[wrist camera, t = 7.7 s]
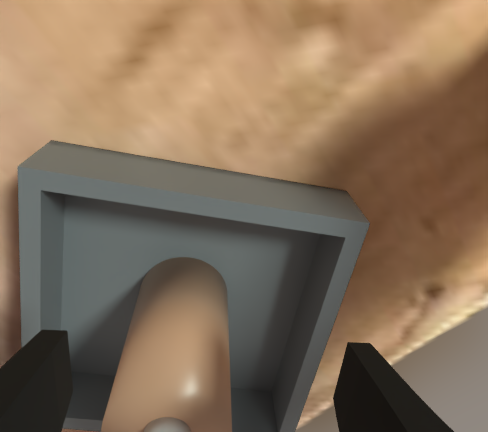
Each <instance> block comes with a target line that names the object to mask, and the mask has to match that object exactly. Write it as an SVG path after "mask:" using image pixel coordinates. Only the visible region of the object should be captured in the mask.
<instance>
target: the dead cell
mask: <svg viewBox="0 0 488 432" xmlns="http://www.w3.org/2000/svg"><path fill="white" fill-rule="evenodd" d="M101 432H232V415H231V386H230V357H229V328H228V298H227V286H226V283H225V281H224V279H223V277H222V276H221V274H220V273H219V272H218V271H217V270H216V269H215V268H214V267H213V266H211V265H210V264H208V263H206V262H204V261H202V260H199V259H195V258H190V257H177V258H171V259H167V260H165V261H162V262H160V263H158V264H157V265H155V266H154V267H153V268H151V269H150V270H149V271H148V273H147V274H146V275H145V277H144V279H143V281H142V284H141V287H140V291H139V294H138V298H137V302H136V305H135V309H134V312H133V316H132V319H131V323H130V326H129V330H128V333H127V337H126V341H125V344H124V348H123V351H122V355H121V358H120V362H119V365H118V369H117V372H116V376H115V379H114V383H113V387H112V390H111V394H110V397H109V401H108V404H107V408H106V411H105V415H104V418H103V422H102V427H101Z"/></svg>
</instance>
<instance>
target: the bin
mask: <svg viewBox="0 0 488 432" xmlns="http://www.w3.org/2000/svg"><path fill="white" fill-rule="evenodd" d="M18 206H19V253H20V299H21V346H22V347H23V346H24V345H26V344H27V343H28V342H29V341H30V340H31V339H32V338H33V337H34V336H35V335H36V334H37V333H39V332H40V331H41V330H66V331H67V332H68V342H69V353H70V363H71V373H72V383H73V393H72V396H71V400H70V404H69V407H68V411H67V414H66V417H65V421H64V424H63V427H62V428H63V429H75V430H87V431H99V432H101V427H102V422H103V418H104V415H105V411H106V408H107V404H108V401H109V397H110V394H111V390H112V387H113V383H114V379H115V376H116V372H117V369H118V365H119V362H120V358H121V355H122V351H123V348H124V344H125V341H126V337H127V333H128V330H129V326H130V323H131V319H132V316H133V312H134V309H135V305H136V302H137V298H138V294H139V291H140V287H141V284H142V281H143V279H144V277H145V275H146V274H147V273H148V271H149V270H150V269H151V268H153V267H154V266H155V265H157V264H158V263H160V262H162V261H165V260H167V259H171V258H177V257H190V258H195V259H199V260H202V261H204V262H206V263H208V264H210V265H211V266H213V267H214V268H215V269H216V270H217V271H218V272H219V273H220V274H221V276H222V277H223V279H224V281H225V283H226V286H227V298H228V328H229V357H230V386H231V415H232V432H295V430H296V427H297V424H298V422H299V419H300V416H301V413H302V411H303V408H304V405H305V402H306V400H307V397H308V394H309V391H310V388H311V386H312V383H313V380H314V377H315V375H316V372H317V369H318V366H319V364H320V361H321V358H322V355H323V352H324V350H325V347H326V344H327V341H328V339H329V336H330V333H331V330H332V328H333V325H334V322H335V319H336V316H337V314H338V311H339V308H340V305H341V303H342V300H343V297H344V294H345V292H346V289H347V286H348V283H349V280H350V278H351V275H352V272H353V269H354V267H355V264H356V261H357V258H358V256H359V253H360V250H361V247H362V244H363V242H364V239H365V236H366V233H367V231H368V228H369V225H370V223H369V221H368V220H367V218H366V217H365V216H364V214H363V213H362V212H361V210H360V209H359V208H358V206H357V205H356V203H355V202H354V201H353V199H352V198H351V197H350V195H349V194H348V192H347V191H344V190H338V189H332V188H326V187H320V186H315V185H309V184H303V183H297V182H291V181H285V180H280V179H274V178H268V177H262V176H256V175H250V174H245V173H239V172H233V171H227V170H221V169H215V168H210V167H204V166H198V165H192V164H186V163H180V162H175V161H169V160H163V159H157V158H151V157H145V156H140V155H134V154H128V153H122V152H116V151H110V150H105V149H99V148H93V147H87V146H81V145H75V144H70V143H64V142H58V141H52V140H51V141H50V142H49V143H47V144H46V145H45V146H43V147H42V148H41V149H40V150H38V151H37V152H36V153H34V154H33V155H32V156H30V157H29V158H28V159H27V160H25V161H24V162H23V163H21V164H20V165H19V166H18Z"/></svg>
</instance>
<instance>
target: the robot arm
mask: <svg viewBox="0 0 488 432" xmlns="http://www.w3.org/2000/svg"><path fill="white" fill-rule="evenodd" d="M72 393H73V383H72V373H71V363H70V353H69V342H68V332H67V331H66V330H41V331H40V332H39V333H37V334H36V335H35V336H34V337H33V338H32V339H31V340H30V341H29V342H28V343H27V344H26V345H24V346H23V347H22V348H21V349H20V350H19V351H18V352H17V353H16V354H15V355H14V356H13V357H12V358H11V359H10V360H9V361H7V362H6V363H5V364H4V365H3V366H2V367H1V368H0V432H61V431H62V427H63V424H64V421H65V417H66V414H67V411H68V407H69V404H70V400H71V396H72ZM333 400H334V406H335V411H336V417H337V422H338V427H339V432H454V431H453V430H452V429H451V428H449V427H448V426H447V425H446V424H445V423H444V422H443V421H442V420H441V419H440V418H439V417H438V416H437V415H436V414H435V413H434V412H433V411H432V410H431V409H430V408H429V407H428V405H427V404H426V403H425V402H424V401H423V400H422V399H421V398H420V397H419V396H418V395H417V394H416V393H415V392H414V391H413V390H412V389H411V388H410V386H409V385H408V384H407V383H406V382H405V381H404V380H403V379H402V378H401V377H400V376H399V374H398V373H397V372H396V371H395V370H394V369H393V368H392V367H391V366H390V364H389V363H388V362H387V361H386V360H385V359H384V358H383V357H382V356H381V354H380V353H379V352H378V351H377V350H376V349H375V348H374V347H373V346H372V345H371V344H370V343H351V342H348V344H347V347H346V351H345V355H344V359H343V363H342V366H341V370H340V374H339V378H338V382H337V385H336V389H335V393H334V397H333Z"/></svg>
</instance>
